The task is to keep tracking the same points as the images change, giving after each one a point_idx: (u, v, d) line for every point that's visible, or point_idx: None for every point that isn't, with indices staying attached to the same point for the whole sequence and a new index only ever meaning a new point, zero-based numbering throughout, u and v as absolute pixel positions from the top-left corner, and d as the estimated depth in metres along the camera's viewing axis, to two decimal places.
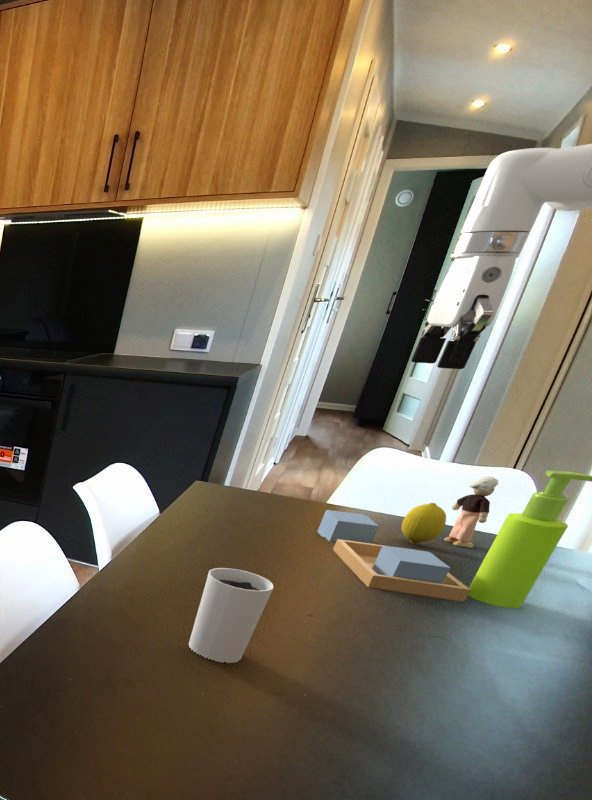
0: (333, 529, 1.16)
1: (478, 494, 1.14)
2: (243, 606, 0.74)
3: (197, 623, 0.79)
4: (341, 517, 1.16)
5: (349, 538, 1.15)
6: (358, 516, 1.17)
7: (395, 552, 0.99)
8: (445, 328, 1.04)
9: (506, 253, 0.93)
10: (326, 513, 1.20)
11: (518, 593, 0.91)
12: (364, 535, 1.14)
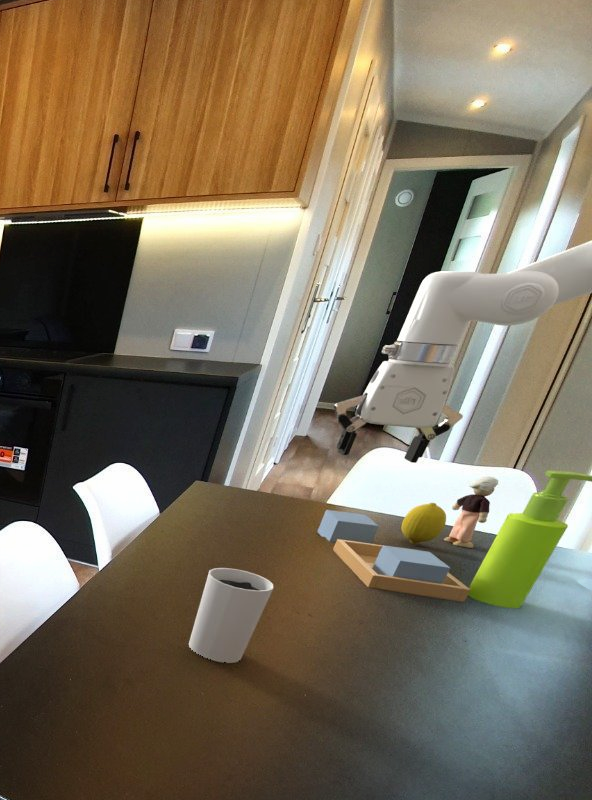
0: (333, 529, 1.16)
1: (478, 494, 1.14)
2: (243, 606, 0.74)
3: (197, 623, 0.79)
4: (341, 517, 1.16)
5: (349, 538, 1.15)
6: (358, 516, 1.17)
7: (395, 552, 0.99)
8: (423, 429, 1.07)
9: (393, 360, 1.05)
10: (326, 513, 1.20)
11: (518, 593, 0.91)
12: (364, 535, 1.14)
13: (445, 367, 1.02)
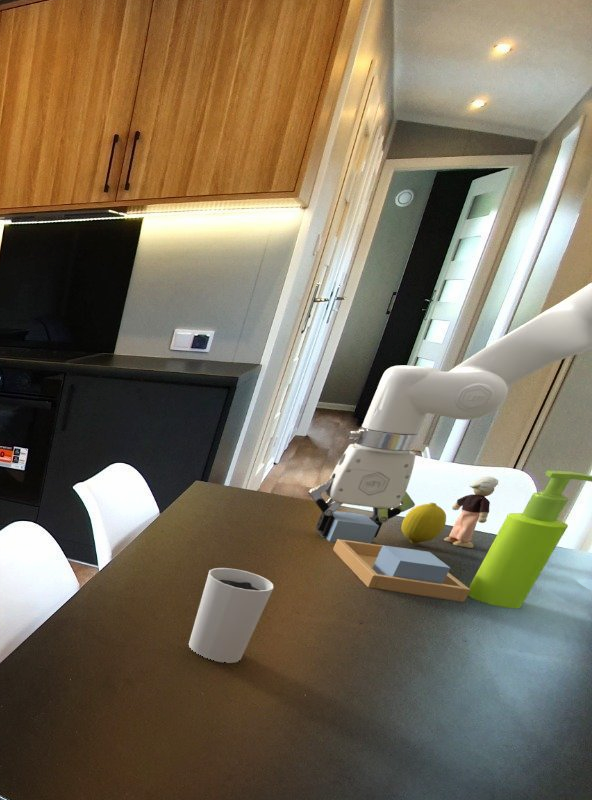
0: (333, 529, 1.16)
1: (478, 494, 1.14)
2: (243, 606, 0.74)
3: (197, 623, 0.79)
4: (341, 517, 1.16)
5: (349, 538, 1.15)
6: (358, 516, 1.17)
7: (395, 552, 0.99)
8: None
9: (358, 445, 1.11)
10: None
11: (518, 593, 0.91)
12: (364, 535, 1.14)
13: (406, 454, 1.08)
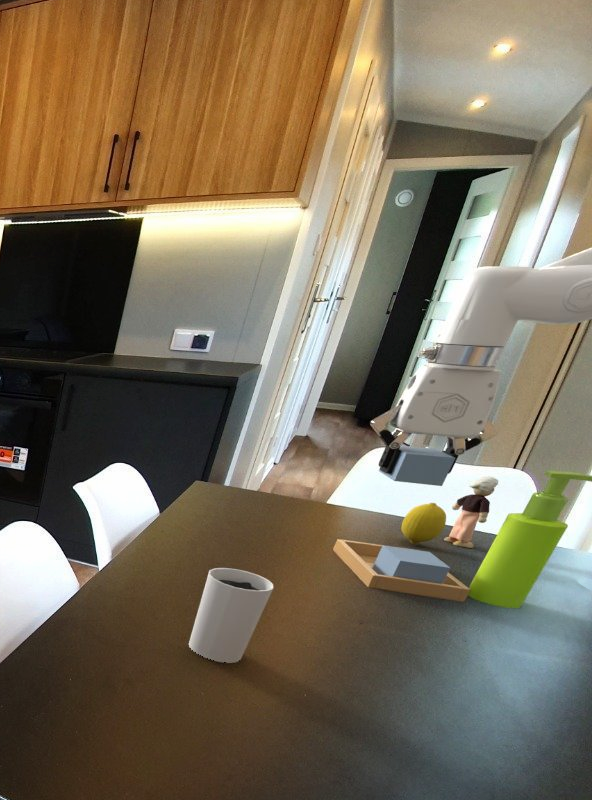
0: (400, 464, 1.01)
1: (478, 494, 1.14)
2: (243, 606, 0.74)
3: (197, 623, 0.79)
4: (409, 450, 1.01)
5: (419, 473, 1.00)
6: (428, 450, 1.02)
7: (395, 552, 0.99)
8: (455, 441, 0.99)
9: (432, 363, 0.96)
10: None
11: (518, 593, 0.91)
12: (438, 469, 0.99)
13: (491, 371, 0.93)
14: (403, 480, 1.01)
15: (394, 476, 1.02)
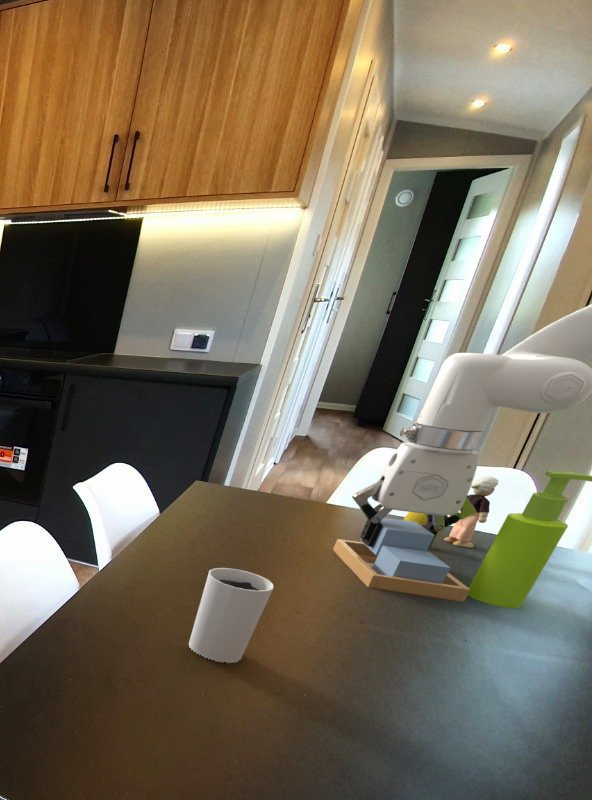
0: (381, 538, 1.02)
1: (478, 494, 1.14)
2: (243, 606, 0.74)
3: (197, 623, 0.79)
4: (390, 525, 1.03)
5: None
6: (409, 524, 1.04)
7: (395, 552, 0.99)
8: (434, 518, 1.00)
9: (413, 443, 0.98)
10: None
11: (518, 593, 0.91)
12: (417, 545, 1.00)
13: (469, 454, 0.95)
14: None
15: (375, 550, 1.03)
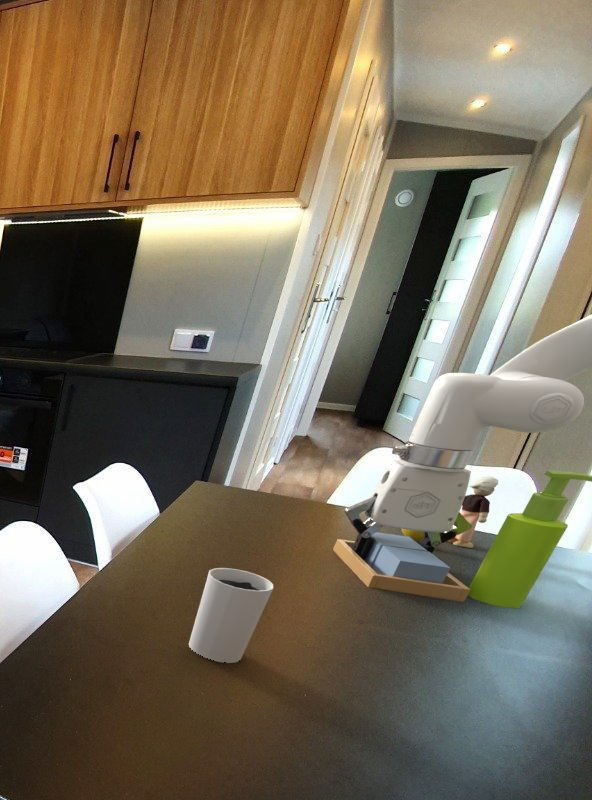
0: (375, 553, 1.03)
1: (478, 494, 1.14)
2: (243, 606, 0.74)
3: (197, 623, 0.79)
4: (383, 540, 1.04)
5: None
6: (402, 539, 1.05)
7: (395, 552, 0.99)
8: None
9: (405, 462, 0.99)
10: None
11: (518, 593, 0.91)
12: None
13: (461, 472, 0.96)
14: None
15: (369, 564, 1.04)
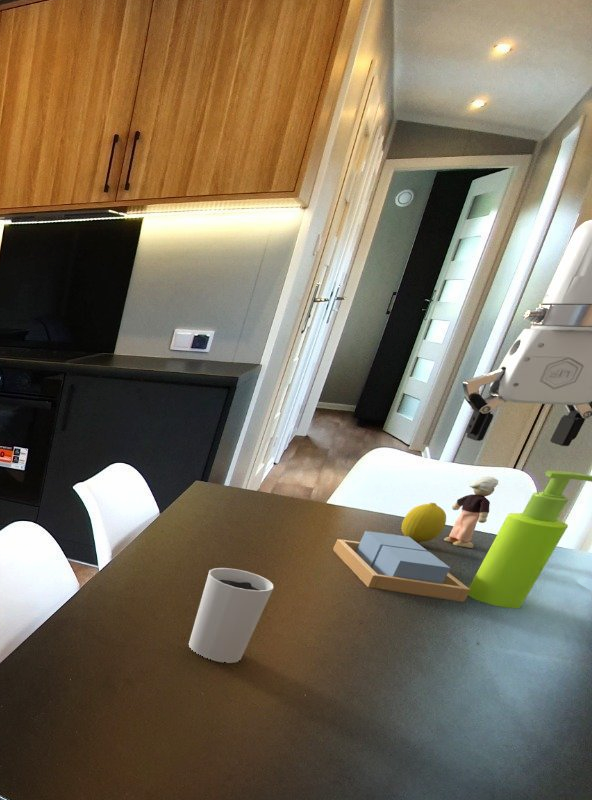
0: (375, 553, 1.03)
1: (478, 494, 1.14)
2: (243, 606, 0.74)
3: (197, 623, 0.79)
4: (383, 540, 1.04)
5: None
6: (402, 539, 1.05)
7: (395, 552, 0.99)
8: (577, 406, 0.91)
9: (540, 326, 0.89)
10: (366, 535, 1.07)
11: (518, 593, 0.91)
12: None
13: None
14: None
15: (369, 564, 1.04)
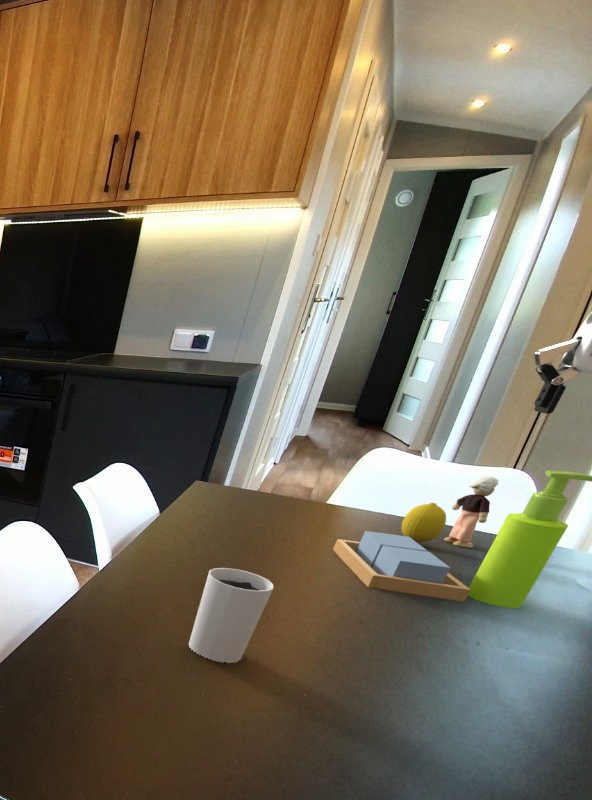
0: (375, 553, 1.03)
1: (478, 494, 1.14)
2: (243, 606, 0.74)
3: (197, 623, 0.79)
4: (383, 540, 1.04)
5: None
6: (402, 539, 1.05)
7: (395, 552, 0.99)
8: None
9: None
10: (366, 535, 1.07)
11: (518, 593, 0.91)
12: None
13: None
14: None
15: (369, 564, 1.04)
